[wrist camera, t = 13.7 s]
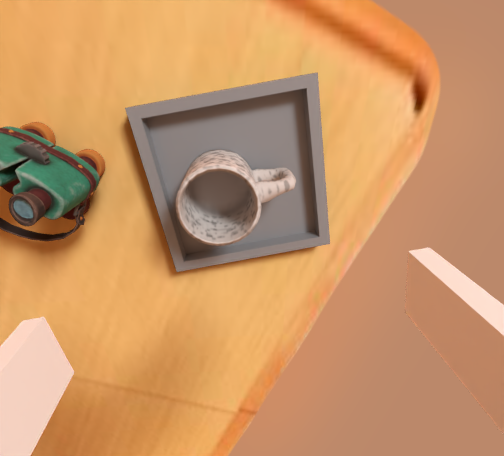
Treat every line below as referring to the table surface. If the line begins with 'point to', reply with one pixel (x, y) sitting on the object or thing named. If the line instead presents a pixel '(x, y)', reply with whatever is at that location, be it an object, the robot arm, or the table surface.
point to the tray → (251, 150)
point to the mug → (226, 196)
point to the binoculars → (45, 179)
